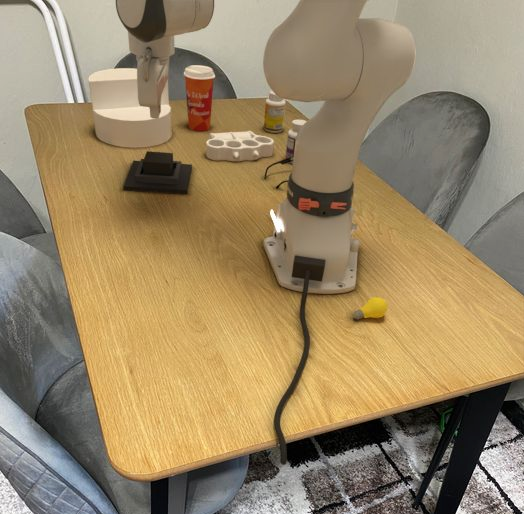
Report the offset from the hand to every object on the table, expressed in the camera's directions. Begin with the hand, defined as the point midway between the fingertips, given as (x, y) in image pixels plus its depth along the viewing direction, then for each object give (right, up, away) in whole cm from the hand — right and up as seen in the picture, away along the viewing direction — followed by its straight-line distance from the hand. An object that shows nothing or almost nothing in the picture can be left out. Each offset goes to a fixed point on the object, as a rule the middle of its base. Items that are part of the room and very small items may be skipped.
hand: (155, 115), depth 111 cm
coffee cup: (+5, +13, +36) cm, 38 cm away
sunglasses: (+30, -9, +15) cm, 34 cm away
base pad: (-1, -10, +9) cm, 14 cm away
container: (-12, +8, +29) cm, 32 cm away
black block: (-1, -10, +9) cm, 13 cm away
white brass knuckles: (+16, +1, +25) cm, 30 cm away
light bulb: (+41, -45, -23) cm, 65 cm away
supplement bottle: (+26, +13, +39) cm, 49 cm away
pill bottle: (+31, -1, +24) cm, 39 cm away
